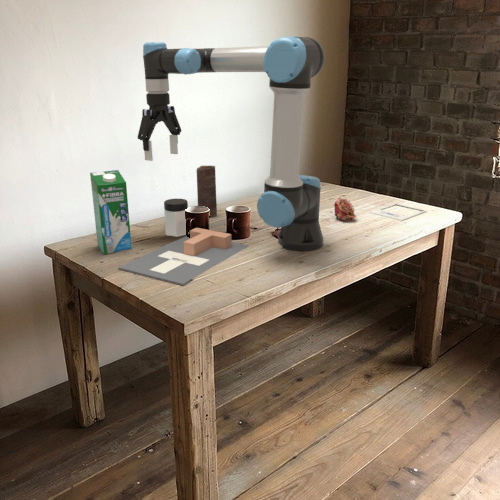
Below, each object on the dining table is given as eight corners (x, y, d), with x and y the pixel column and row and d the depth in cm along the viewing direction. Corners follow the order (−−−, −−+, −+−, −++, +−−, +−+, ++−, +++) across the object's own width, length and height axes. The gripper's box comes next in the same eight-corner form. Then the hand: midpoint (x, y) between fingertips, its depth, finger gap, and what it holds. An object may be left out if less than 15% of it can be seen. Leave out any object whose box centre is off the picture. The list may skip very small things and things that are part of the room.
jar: (171, 239, 187) (169, 206, 183) (161, 233, 193) (159, 200, 189) (194, 234, 192) (192, 202, 187) (183, 229, 198) (182, 197, 194)
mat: (249, 247, 179) (249, 245, 179) (183, 285, 150) (183, 283, 150) (190, 235, 191) (190, 233, 191) (118, 269, 162) (118, 267, 162)
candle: (209, 220, 208) (207, 168, 201) (194, 217, 211) (192, 166, 204) (220, 215, 214) (219, 165, 207) (205, 212, 217) (204, 163, 210)
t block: (231, 245, 179) (231, 234, 178) (207, 259, 168) (207, 246, 166) (197, 238, 186) (196, 227, 184) (171, 251, 175) (170, 239, 173)
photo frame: (370, 211, 216) (395, 203, 228) (369, 214, 217) (395, 205, 228) (402, 219, 206) (426, 210, 218) (401, 222, 207) (426, 212, 218)
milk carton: (104, 254, 173) (96, 177, 165) (97, 246, 181) (89, 172, 172) (131, 250, 177) (125, 174, 168) (124, 242, 185) (118, 169, 176)
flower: (324, 216, 206) (336, 202, 201) (330, 205, 213) (342, 191, 208) (345, 231, 206) (357, 217, 201) (350, 220, 214) (362, 206, 209)
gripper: (172, 89, 190) (175, 150, 197) (122, 94, 170) (128, 162, 177) (189, 90, 186) (192, 152, 194) (141, 95, 166) (146, 164, 174)
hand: (161, 157), depth 185 cm, fingers open, 13 cm apart
